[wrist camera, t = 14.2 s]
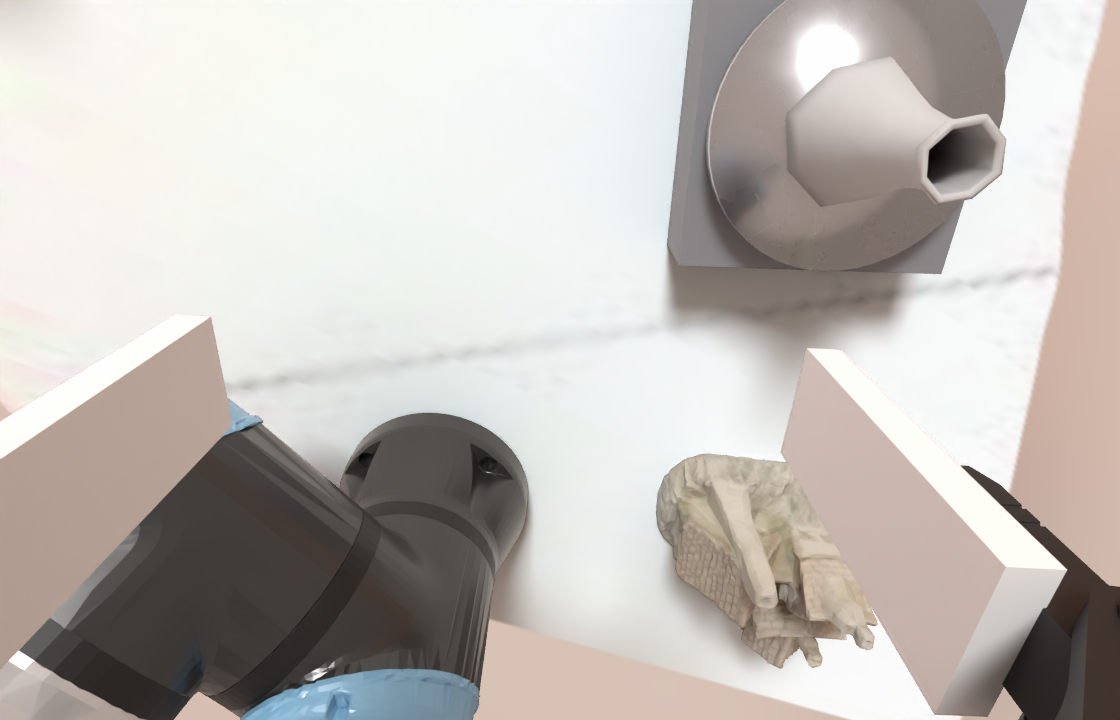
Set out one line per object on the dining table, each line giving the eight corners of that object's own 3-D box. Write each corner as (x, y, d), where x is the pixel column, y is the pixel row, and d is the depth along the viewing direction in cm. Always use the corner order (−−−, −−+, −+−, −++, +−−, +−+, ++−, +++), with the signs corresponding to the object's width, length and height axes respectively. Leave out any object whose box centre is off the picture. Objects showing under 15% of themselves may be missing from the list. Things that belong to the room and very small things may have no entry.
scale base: (908, 251, 41) (955, 277, 36) (667, 244, 41) (680, 268, 36) (986, -24, 34) (1057, -40, 29) (696, -32, 34) (717, -49, 29)
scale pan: (943, 270, 36) (952, 275, 35) (690, 261, 36) (693, 267, 35) (1037, -29, 29) (1051, -32, 28) (727, -38, 29) (732, -41, 28)
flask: (901, 28, 30) (1046, 10, 21) (938, 163, 32) (1081, 199, 23) (761, 106, 31) (838, 120, 22) (808, 228, 34) (893, 285, 25)
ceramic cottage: (681, 436, 48) (727, 593, 35) (866, 477, 50) (974, 640, 37) (620, 567, 55) (639, 737, 42) (783, 598, 58) (849, 769, 45)
